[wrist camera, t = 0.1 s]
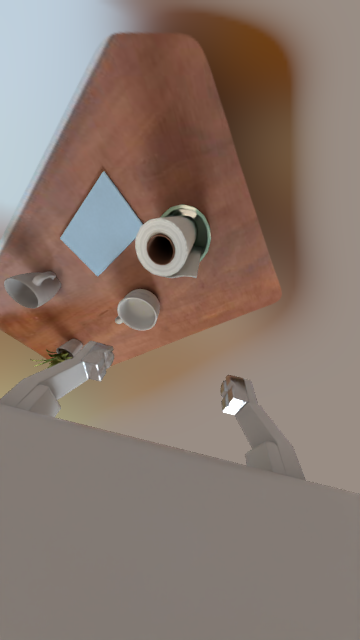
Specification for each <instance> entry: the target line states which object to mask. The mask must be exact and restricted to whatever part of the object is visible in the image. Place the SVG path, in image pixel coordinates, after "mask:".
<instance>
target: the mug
mask: <svg viewBox="0 0 360 640" xmlns="http://www.w3.org/2000/svg"><path fill="white" fill-rule="evenodd" d="M4 286H5V289H6V291H7V293H8V294H9V295H10V296H11V297H12V298H13V299H14V300H15V301H16V302H17V303H19V304H21V305H22V306H24V307H27V308H37V307H39V306H41V305H43V304H44V303H46V302H48V301H49V300H50V299H51V298H53V297H54V296H55V294H56V293H57V292H58V290H59V289H60V287H61V283H60V281H59V279H58V278H57V277H56V275H55V274H54V273H53V272H51V271H48V272H44V273H26V274H20V275H16V276H13V277H10V278H8V279H6V280H5V282H4Z"/></svg>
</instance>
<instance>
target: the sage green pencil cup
mask: <svg viewBox="0 0 360 640" xmlns="http://www.w3.org/2000/svg"><path fill="white" fill-rule="evenodd" d="M174 216H188V217H191V218H192V219H193V220H194V221H195V223H196V225H197V229H198V234H197V237H196V240H195V242H194V244H193V246H202V249H201V255H200V261H201V260H202V259H203V258H204V256H205V255H206V253H207V252H208V249H209V245H210V241H211V236H210V226H209V224H208V222H207V220H206V217H205V216H204V215H203V214H202V213H201V212H200V211H199V210H197V209H196V208H195V207H192V206H188V205H184V204H181V205H177V206H174V207H171V208H169V209H168V210H167V211H166V212H165V213H164V214H163V215H162V216H161V218H162V217H174ZM200 261H199V262H200Z"/></svg>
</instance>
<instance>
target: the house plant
mask: <svg viewBox="0 0 360 640" xmlns="http://www.w3.org/2000/svg"><path fill="white" fill-rule="evenodd" d="M82 346H83V345H82V343H81V342H80V341H79V340H77V339H71V340H70V341H68V342H66V343H65V344H63V345H62V346H60V347H59V348H57V350H56V351H57V352H50V351H48V350H47V349H46V350H47V352H50V353H58V354H54V355H50V354H49V353H48V355H49V356H51V357H55V358H51V359H49V360H40V361H46V362H44V363H47V362H49V361H52V360H53V361H52V362H51V363H49V364H51V365H50V366H49V367H52V366H54V365H56V364H58V363H61V362H63V361H65V360H68V359H73V358H74V356H75V355H76V354H77V353H78V352H79V351H80V349H81V348H82ZM56 356H57V357H56ZM32 361H36V360H32ZM44 363H41V364H44ZM41 364H38V365H41ZM49 367H48V368H49Z"/></svg>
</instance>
